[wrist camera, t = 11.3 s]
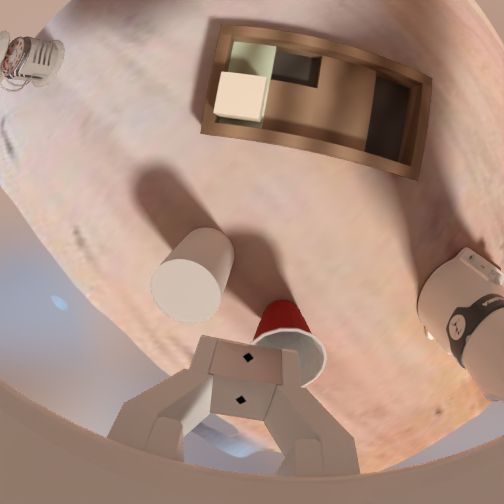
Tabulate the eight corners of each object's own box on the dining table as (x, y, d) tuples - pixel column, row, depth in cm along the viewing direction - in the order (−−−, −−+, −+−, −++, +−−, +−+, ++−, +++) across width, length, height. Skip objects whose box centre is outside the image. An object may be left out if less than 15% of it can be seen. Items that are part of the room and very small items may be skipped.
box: (417, 83, 29) (432, 78, 25) (403, 176, 35) (417, 180, 31) (227, 37, 30) (221, 24, 25) (208, 135, 35) (200, 133, 31)
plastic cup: (330, 308, 43) (345, 357, 32) (287, 349, 47) (289, 401, 35) (277, 270, 41) (278, 316, 30) (235, 318, 45) (225, 369, 34)
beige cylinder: (175, 267, 42) (145, 308, 31) (189, 219, 39) (158, 248, 28) (224, 285, 43) (209, 333, 32) (242, 239, 40) (230, 275, 29)
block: (267, 86, 30) (266, 77, 26) (260, 123, 32) (258, 118, 28) (228, 81, 30) (221, 71, 26) (221, 117, 32) (213, 112, 28)
